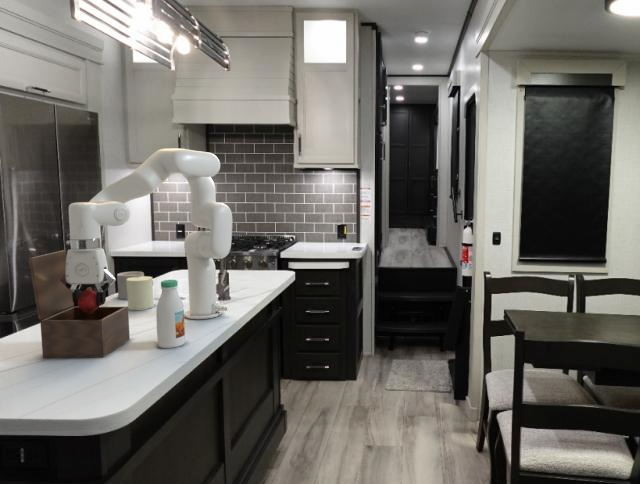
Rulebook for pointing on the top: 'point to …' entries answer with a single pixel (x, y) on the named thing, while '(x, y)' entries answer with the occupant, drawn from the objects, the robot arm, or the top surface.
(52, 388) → the top surface
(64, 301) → the bin lid
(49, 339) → the bin
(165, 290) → the milk bottle
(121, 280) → the coffee mug
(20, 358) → the top surface
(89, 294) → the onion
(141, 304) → the can
